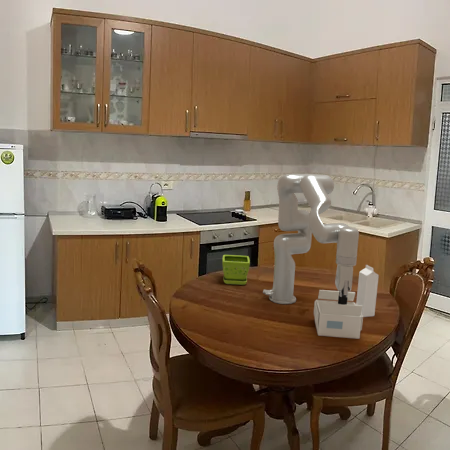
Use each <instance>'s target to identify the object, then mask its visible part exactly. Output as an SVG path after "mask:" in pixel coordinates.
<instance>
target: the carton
mask: <svg viewBox="0 0 450 450" xmlns="http://www.w3.org/2000/svg"><path fill="white" fill-rule="evenodd" d="M323 303H334V304H338V300H328V299H315V300H314V304H313V306H314V307H313V317H314V324H315V328H316V333H317V336H320V337H329V338H330V337H333V338H344V339H345V338H347V339H355V340H356V339H360V338H361V331H363V322H364V320H363V319H364V317H363V316H362V314H361V315H360V317H359V316H345V315H331V314H322V309H323ZM347 304H348V305H357V304H356V301H355V302H354V301H347Z"/></svg>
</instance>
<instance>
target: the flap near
mask: <svg viewBox="0 0 450 450" xmlns="http://www.w3.org/2000/svg"><path fill="white" fill-rule="evenodd" d="M361 310H362V305H348V304H345V305H341V304H334V303H323V309H322V314H331V315H345V316H359V317H360V315H361Z"/></svg>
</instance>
